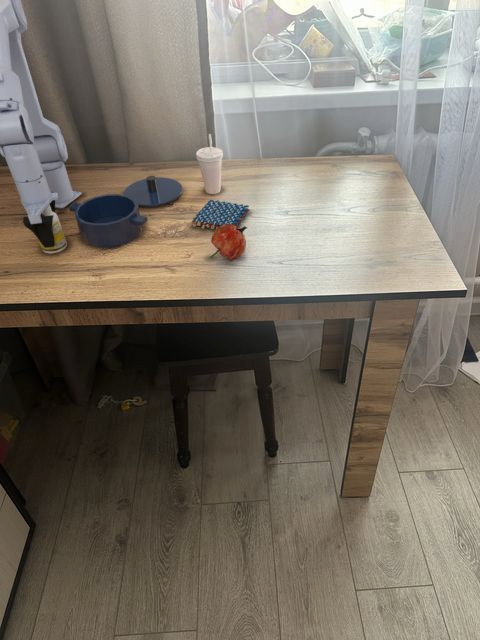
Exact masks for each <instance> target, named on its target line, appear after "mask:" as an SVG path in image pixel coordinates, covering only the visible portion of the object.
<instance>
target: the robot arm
mask: <svg viewBox="0 0 480 640" xmlns="http://www.w3.org/2000/svg"><path fill="white" fill-rule="evenodd" d="M25 31H28V21H27V17H26V14H25V10H24V7H23V4H22V0H0V155H1V156H2V157H3V158H4V159H5V161H6V164H7V167H8V169H9V172H10V174H11V177H12V179H13V182H14V185H15V187H16V189H17V192H18V196H19V197H20V202H21V205H22V207H23V208H24V210H25V211H26V213H27V216H23V218H22V224H23V226H24V227H25V228H27V229H28V230H30V231H31V232H32V234H34V235H35V237H36V238H38V239H39V241H40V242H41V244H42V245H43V246H44V248H48V247H54V246H55V240H54V234H53V228H52V221H53V215H50V216H44V215H42V212H43V211H44V210H45V208H46V207H47V206H48V205H49V204H50V207H51V210H52V212H54V213H56V209H61V210H62V209H64V208H65V207H67V206H68V205H69V204H71V203H72V202H73V201H74V200H76V199H78V198H79V197H80V196H82V192H81V191H77V190H73V188H72V184H71V180H70V178H69V174H68V172H67V168H66V165H65V162H67V160H68V159H69V155H68V149H67V145H66V144H67V143H66V141H65V139H64V136H63V133H62V131H61V128H60V127H59V125H58V124H57V123H54V122H53V121H51V120H48V119H47V118H45V117H44V115H43V111H42V108H41V105H40V101H39V99H38V94H37V91H36V88H35V84H34V80H33V78H32V74H31V71H30V68H29V64H28V61H27V58H26V55H25V51H24V48H23V44H22V34H23V33H24V32H25ZM56 214H57V213H56ZM38 239H37V240H38ZM39 241H38V242H39Z"/></svg>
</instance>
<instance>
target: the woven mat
mask: <svg viewBox="0 0 480 640" xmlns="http://www.w3.org/2000/svg"><path fill="white" fill-rule="evenodd" d="M249 207H250V205H248V204H247V205H245V204H243V203H241V204H238V203H237V202H234V203H233V202H232V201H231V202H230V201H229V202H228V201H225V200H223V201H220V200H215V199H210V200H208V201H207V203H206V204H205V205H204V206H203V207H202V208H201V209H200V211H198V213H197V214H196V215H195V217H193V220H191V222H192V223H193V225H192V227H193V228H196V227H200V226H201V229H202V230H205V228H207V229H209V228H210V229H211V230H214V229H215V230H216V229H217V228H218V227H220V226H221V225H224V224H231V225H234V226H236V227H237V228H238V226H239V224H240V223H241V222H243V219H244V218H245V216H246V214H247V213H248V212H250V209H249Z"/></svg>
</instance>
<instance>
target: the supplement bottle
mask: <svg viewBox="0 0 480 640" xmlns="http://www.w3.org/2000/svg"><path fill="white" fill-rule="evenodd" d="M42 215H44V216H50V215H53V221H52V228H53V234H54V240H55V246H54V247H48V248H44V246H43V245H42V244H41V242H40V241H39V239H38V238H37V237H36V238H37V241H38V244H39V246H40V248H41V250H42V251H43V252H44V253H45V254H58V253H60V252H63V251H64V250H65V249H66V248H67V246H68V241H67V238H66V235H65V233H64V229H63V228H62V225H61V222H60V219H59V217H58V214H57V213H54V212H52V210H51V207H50V204H49V205H48V206H47V207H46V208H45V210H44V211H43V212H42Z"/></svg>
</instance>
